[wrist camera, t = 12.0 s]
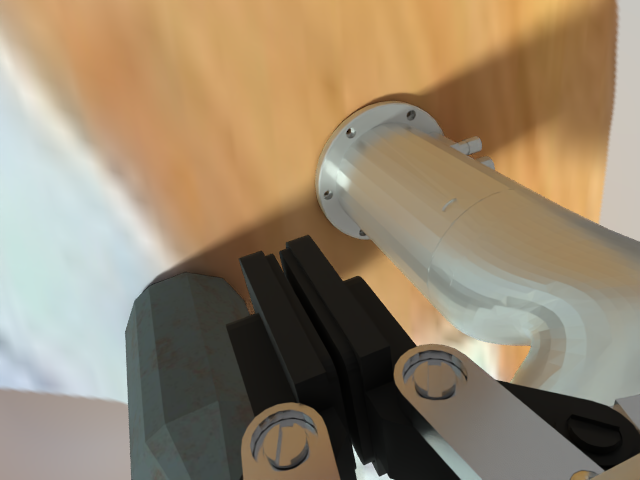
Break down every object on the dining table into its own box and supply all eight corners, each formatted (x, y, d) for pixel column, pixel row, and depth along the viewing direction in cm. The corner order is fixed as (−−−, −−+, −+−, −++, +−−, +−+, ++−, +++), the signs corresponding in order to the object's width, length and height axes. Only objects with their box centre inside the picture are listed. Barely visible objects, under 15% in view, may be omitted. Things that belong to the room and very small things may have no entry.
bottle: (151, 376, 45) (201, 869, 20) (104, 297, 39) (96, 839, 15) (256, 332, 47) (415, 733, 22) (225, 252, 41) (390, 664, 17)
